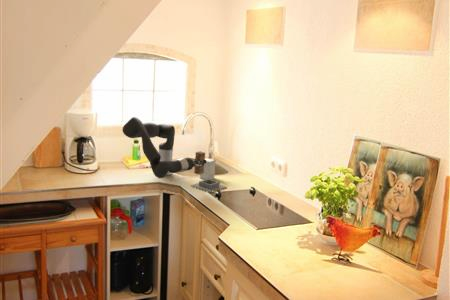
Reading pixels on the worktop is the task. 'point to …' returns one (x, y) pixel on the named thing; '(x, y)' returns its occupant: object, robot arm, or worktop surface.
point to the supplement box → (208, 169)
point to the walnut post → (199, 157)
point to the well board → (209, 185)
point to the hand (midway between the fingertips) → (203, 160)
